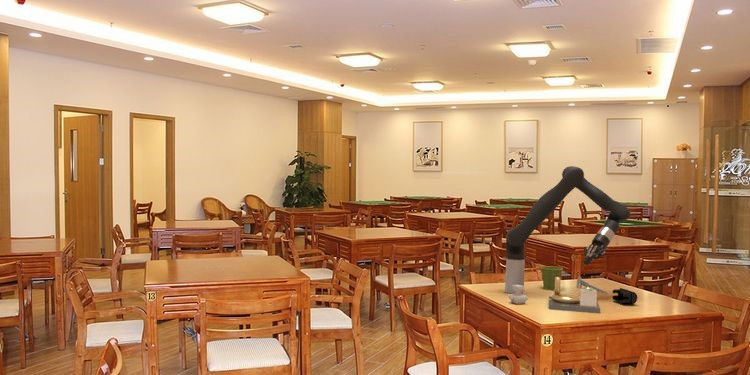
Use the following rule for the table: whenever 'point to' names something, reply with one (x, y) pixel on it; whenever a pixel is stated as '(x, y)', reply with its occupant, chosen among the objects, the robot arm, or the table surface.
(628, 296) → the end cap
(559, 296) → the brass dish with post
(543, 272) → the plant pot
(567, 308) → the base
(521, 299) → the white rounded piece
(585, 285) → the caliper
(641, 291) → the table surface
